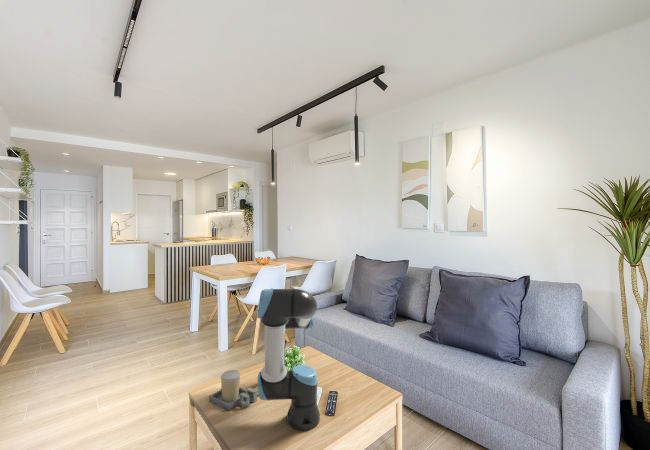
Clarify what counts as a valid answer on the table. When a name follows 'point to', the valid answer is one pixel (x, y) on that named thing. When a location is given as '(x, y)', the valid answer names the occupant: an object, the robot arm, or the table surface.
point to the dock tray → (242, 396)
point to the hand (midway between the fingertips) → (277, 372)
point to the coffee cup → (230, 385)
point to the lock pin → (252, 393)
